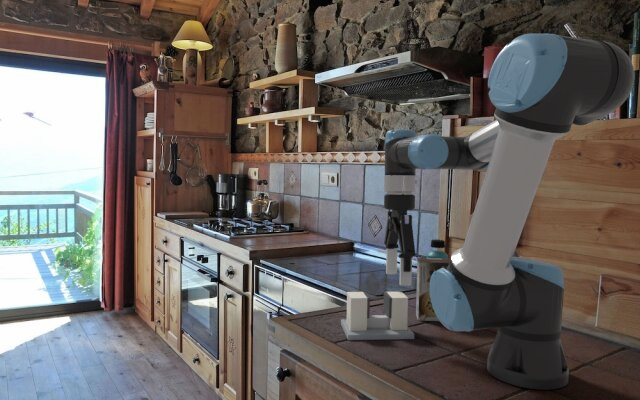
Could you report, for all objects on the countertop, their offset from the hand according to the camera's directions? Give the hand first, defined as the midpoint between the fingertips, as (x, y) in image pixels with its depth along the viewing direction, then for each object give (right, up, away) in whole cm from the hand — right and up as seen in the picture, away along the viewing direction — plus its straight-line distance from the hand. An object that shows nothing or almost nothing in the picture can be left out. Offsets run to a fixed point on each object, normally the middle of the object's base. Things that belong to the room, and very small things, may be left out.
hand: (398, 279), depth 125 cm
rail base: (-5, -13, +1) cm, 14 cm away
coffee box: (+12, -13, +13) cm, 21 cm away
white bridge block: (0, -12, +1) cm, 12 cm away
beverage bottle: (+15, -12, +23) cm, 30 cm away
